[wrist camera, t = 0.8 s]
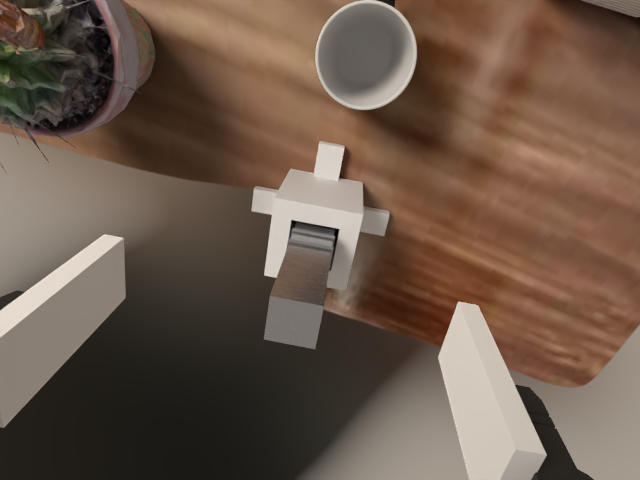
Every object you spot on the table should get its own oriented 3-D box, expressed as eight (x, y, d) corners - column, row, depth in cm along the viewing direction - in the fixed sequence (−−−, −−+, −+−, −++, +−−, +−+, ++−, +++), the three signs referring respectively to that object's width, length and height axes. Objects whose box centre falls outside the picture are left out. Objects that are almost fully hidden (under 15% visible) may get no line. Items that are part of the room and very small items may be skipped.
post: (306, 191, 53) (268, 293, 31) (340, 197, 53) (326, 304, 31) (300, 223, 55) (261, 340, 33) (333, 229, 55) (316, 350, 33)
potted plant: (-4, 47, 49) (-311, 49, 27) (94, -93, 43) (-201, -246, 20) (117, 165, 54) (-57, 251, 31) (222, 55, 48) (98, 65, 25)
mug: (385, 110, 49) (391, 125, 39) (311, 80, 48) (300, 89, 39) (433, -4, 44) (453, -17, 34) (352, -38, 43) (350, -61, 34)
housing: (262, 130, 51) (238, 150, 41) (403, 156, 51) (413, 183, 41) (248, 255, 58) (225, 299, 48) (371, 278, 58) (374, 327, 48)
